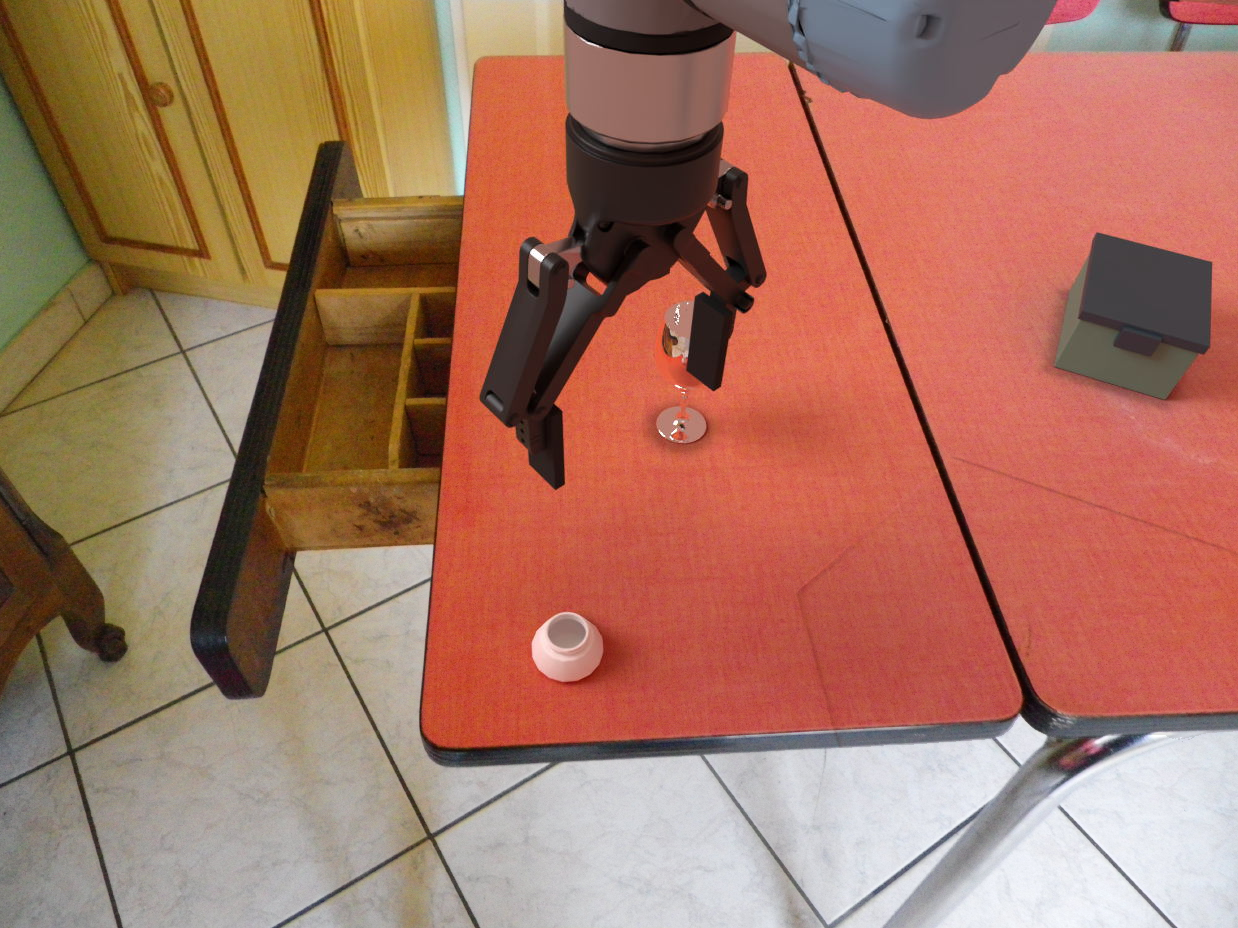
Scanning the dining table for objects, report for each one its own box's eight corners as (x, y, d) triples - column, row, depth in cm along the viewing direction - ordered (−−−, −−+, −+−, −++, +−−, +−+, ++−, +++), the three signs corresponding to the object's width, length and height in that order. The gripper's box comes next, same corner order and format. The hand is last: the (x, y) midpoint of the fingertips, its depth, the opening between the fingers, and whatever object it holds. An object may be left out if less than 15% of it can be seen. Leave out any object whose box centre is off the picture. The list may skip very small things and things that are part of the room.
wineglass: (635, 422, 75) (641, 316, 66) (681, 392, 78) (693, 286, 69) (681, 459, 73) (694, 354, 63) (727, 427, 75) (746, 322, 66)
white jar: (531, 623, 62) (533, 686, 59) (529, 602, 60) (531, 667, 56) (599, 618, 62) (605, 681, 59) (600, 596, 60) (606, 661, 57)
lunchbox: (1168, 407, 78) (1210, 350, 73) (1049, 371, 81) (1081, 313, 76) (1174, 315, 87) (1212, 259, 82) (1067, 286, 90) (1097, 229, 84)
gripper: (768, 18, 47) (722, 317, 63) (367, 167, 36) (436, 483, 52) (876, 68, 43) (798, 372, 59) (466, 249, 32) (507, 561, 49)
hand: (629, 424), depth 56 cm, fingers open, 13 cm apart
